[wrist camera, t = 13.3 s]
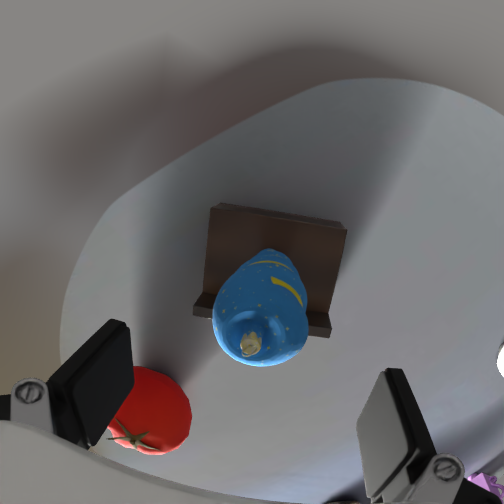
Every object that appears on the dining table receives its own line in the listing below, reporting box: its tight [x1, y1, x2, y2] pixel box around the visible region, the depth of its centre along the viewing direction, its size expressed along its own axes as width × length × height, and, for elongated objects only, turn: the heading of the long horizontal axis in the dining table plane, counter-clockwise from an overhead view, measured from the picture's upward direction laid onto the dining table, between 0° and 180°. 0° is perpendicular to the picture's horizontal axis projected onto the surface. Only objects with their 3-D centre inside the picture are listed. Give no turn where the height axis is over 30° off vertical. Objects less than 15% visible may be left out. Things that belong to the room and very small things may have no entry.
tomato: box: [107, 366, 192, 454], centre depth 32 cm, size 12×12×11 cm
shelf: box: [193, 203, 347, 338], centre depth 28 cm, size 9×12×7 cm
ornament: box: [213, 248, 309, 366], centre depth 20 cm, size 5×5×15 cm
